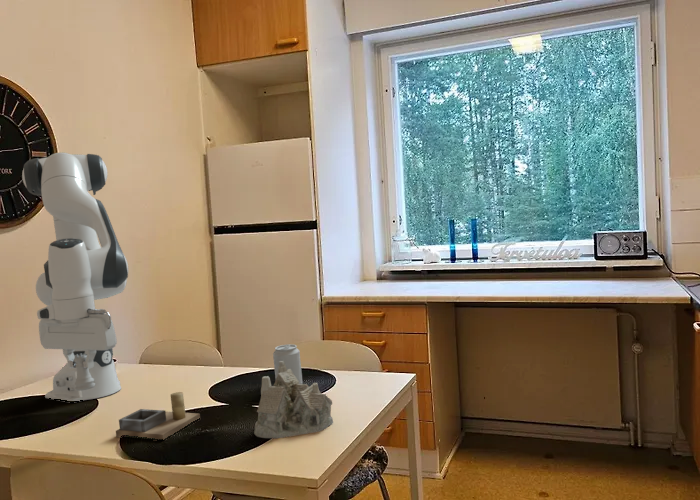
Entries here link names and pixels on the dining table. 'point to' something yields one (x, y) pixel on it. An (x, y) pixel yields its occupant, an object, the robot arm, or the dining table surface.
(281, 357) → the can
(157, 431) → the carrier plate
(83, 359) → the rook chess piece
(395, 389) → the dining table surface
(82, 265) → the robot arm
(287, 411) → the ceramic cottage
